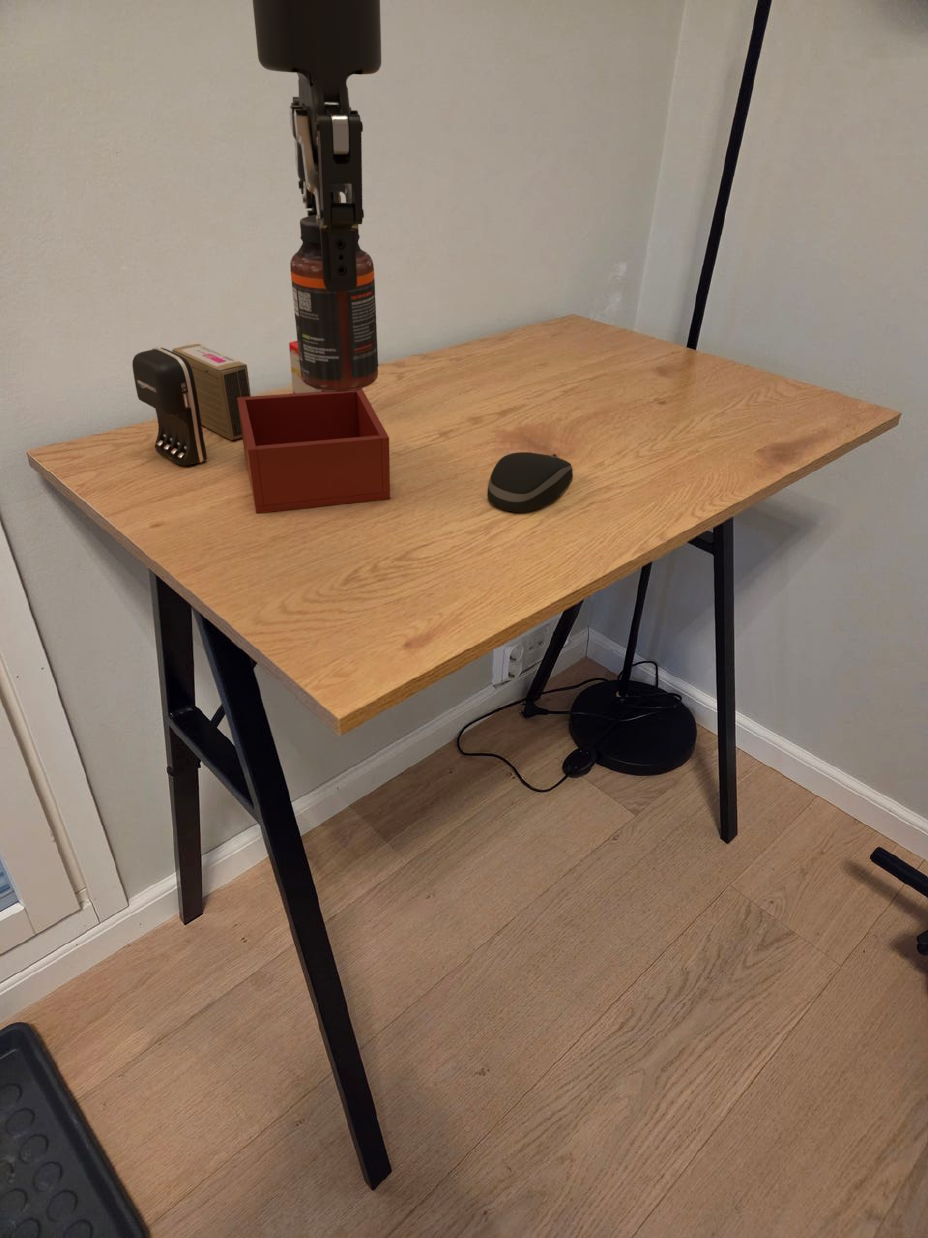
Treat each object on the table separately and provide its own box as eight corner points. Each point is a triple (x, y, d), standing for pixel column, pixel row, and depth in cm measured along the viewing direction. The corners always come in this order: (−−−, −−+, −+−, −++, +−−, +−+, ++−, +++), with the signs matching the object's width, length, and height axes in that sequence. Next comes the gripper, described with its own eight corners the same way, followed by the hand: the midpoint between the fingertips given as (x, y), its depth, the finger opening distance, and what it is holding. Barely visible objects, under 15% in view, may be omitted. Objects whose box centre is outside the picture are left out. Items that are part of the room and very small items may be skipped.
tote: (256, 513, 78) (247, 449, 74) (244, 455, 89) (236, 397, 85) (390, 499, 82) (389, 437, 78) (364, 445, 92) (362, 388, 88)
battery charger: (145, 452, 88) (122, 349, 81) (175, 442, 91) (156, 342, 84) (179, 472, 85) (158, 367, 78) (210, 462, 87) (192, 358, 80)
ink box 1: (258, 434, 93) (249, 363, 88) (230, 442, 91) (219, 370, 86) (210, 409, 99) (199, 341, 94) (183, 416, 97) (170, 347, 92)
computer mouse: (586, 478, 87) (591, 444, 85) (530, 521, 79) (534, 485, 77) (531, 460, 90) (534, 427, 88) (472, 500, 82) (474, 465, 80)
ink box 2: (293, 406, 100) (285, 324, 94) (316, 401, 102) (310, 320, 96) (317, 422, 97) (311, 337, 91) (341, 415, 99) (336, 332, 93)
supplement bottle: (385, 370, 63) (381, 213, 56) (369, 398, 58) (363, 229, 51) (312, 364, 63) (299, 208, 57) (290, 391, 59) (274, 224, 52)
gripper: (241, -26, 51) (270, 255, 61) (259, -38, 40) (291, 307, 50) (357, -19, 53) (366, 253, 63) (404, -29, 42) (407, 303, 52)
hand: (333, 276), depth 56 cm, fingers closed on supplement bottle, 6 cm apart
